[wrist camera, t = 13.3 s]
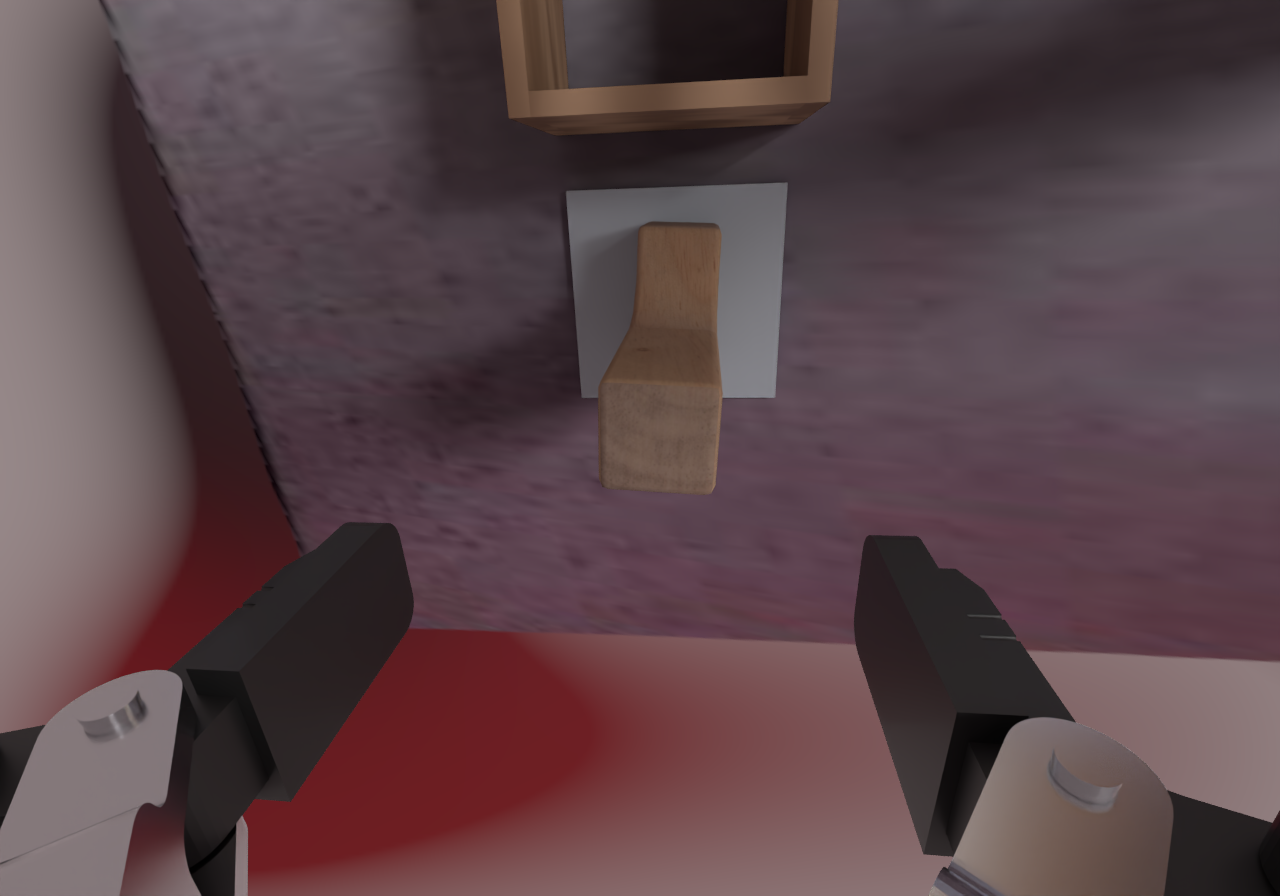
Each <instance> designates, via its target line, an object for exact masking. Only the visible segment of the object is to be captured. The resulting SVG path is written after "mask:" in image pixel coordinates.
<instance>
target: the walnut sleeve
mask: <svg viewBox="0 0 1280 896" xmlns="http://www.w3.org/2000/svg"><path fill="white" fill-rule="evenodd" d="M496 3H497V12H498V22H499V31H500V40H501V50H502V59H503V68H504V78H505V87H506V96H507V106H508V115H509V119H512V120H515V121H517V122H520V123H523V124H525V125H528V126H531V127H533V128H536V129H539V130H541V131H544V132H547V133H549V134H552V135H555V136H557V135H578V134H599V133H619V132H640V131H661V130H681V129H702V128H723V127H744V126H764V125H785V124H799V123H801V122H802V121H804V120H805V119H806V118H808V117H809V116H811V115H812V114H814V113H815V112H816V111H818V110H819V109H821V108H822V107H823V106H825V105H826V104H828V103H829V102H830V97H831V85H832V72H833V60H834V48H835V35H836V23H837V10H838V0H787V18H786V37H785V56H784V75H783V77H772V78H754V79H737V80H719V81H701V82H684V83H666V84H648V85H630V86H613V87H595V88H577V89H569V88H568V74H567V60H566V46H565V32H564V18H563V4H562V0H496Z"/></svg>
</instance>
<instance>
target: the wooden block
mask: <svg viewBox="0 0 1280 896" xmlns="http://www.w3.org/2000/svg"><path fill="white" fill-rule="evenodd" d="M721 239H722V234H721V231H720V228H719V226H718V225H717V224H715V223H695V222H657V221H651V222H648V223H646V224H644V225H642V226H641V227H640V228H639V231H638V246H637V275H636V289H635V298H634V308H633V315H632V319H631V323H630V327H629V330H628V332H627V333H626V335H625V337H624V339H623V341H622V343H621V344H620V346H619V348H618V350H617V352H616V354H615V356H614V357H613V359H612V361H611V363H610V365H609V367H608V368H607V370H606V372H605V374H604V376H603V378H602V379H601V382H600V384H599V386H598V429H599V480H600V482H601V484H602V487H605V488H607V489H620V490H635V491H651V492H667V493H682V494H698V495H706V494H710V493H711V492H712V491H713V489H714V487H715V484H716V471H717V459H718V446H719V434H720V421H721V409H722V396H723V391H722V380H721V370H720V359H719V348H718V338H717V308H718V285H719V269H720V254H721Z"/></svg>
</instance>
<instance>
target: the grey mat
mask: <svg viewBox="0 0 1280 896" xmlns="http://www.w3.org/2000/svg"><path fill="white" fill-rule="evenodd" d="M787 185H788V183H762V184H735V185H709V186H683V187H657V188H631V189H605V190H579V191H566V199H567V212H568V225H569V239H570V252H571V265H572V278H573V291H574V304H575V317H576V330H577V343H578V356H579V369H580V382H581V395H582V398H598V386H599V384H600V382H601V379H602V378H603V376H604V374H605V372H606V370H607V368H608V367H609V365H610V363H611V361H612V359H613V357H614V356H615V354H616V352H617V350H618V348H619V346H620V344H621V343H622V341H623V339H624V337H625V335H626V333H627V332H628V330H629V327H630V323H631V319H632V315H633V308H634V298H635V289H636V275H637V246H638V231H639V228H640V227H641V226H642V225H644V224H646V223H648V222H651V221H657V222H695V223H715V224H717V225H718V226H719V228H720V231H721V234H722V239H721V254H720V269H719V285H718V308H717V338H718V348H719V359H720V370H721V380H722V391H723V396H722V398H775V390H776V373H777V356H778V339H779V322H780V305H781V287H782V270H783V253H784V236H785V219H786V202H787Z"/></svg>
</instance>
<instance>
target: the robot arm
mask: <svg viewBox="0 0 1280 896" xmlns="http://www.w3.org/2000/svg"><path fill="white" fill-rule="evenodd" d="M413 607H414V600H413V593H412V588H411V584H410V580H409V575H408V571H407V567H406V562H405V558H404V554H403V549H402V545H401V541H400V536H399V533H398V531H397V529H396V528H395V526H394V525H392V524H390V523H356V522H349V523H345V524H343V525H342V526H341V527H340V528H338V529H337V530H336V531H335V532H334V533H333V534H332V535H331V536H330V537H329V538H328V539H326V540H325V541H324V542H323V543H322V544H321V545H320V546H319V547H318V548H317V549H316V550H313V551H312V552H310V553H308V554H306V555H304V556H303V557H301V558H299V559H297V560H295V561H294V562H292V563H290V564H288V565H286V566H284V567H283V568H282V569H281V570H280V571H279V572H278V573H277V574H275V575H274V576H273V577H272V578H271V579H270V580H269V581H268V582H267V583H265V584H264V585H263V586H262V590H261V591H256V592H255V593H254V594H253V595H252V596H251V597H250V598H249V599H247V600H246V601H245V602H244V603H243V607H242V608H237V609H236V610H235V611H234V612H233V613H232V614H231V615H230V616H228V617H227V618H226V619H225V620H224V621H223V622H222V623H220V624H219V625H218V626H217V627H216V628H215V629H214V630H213V631H211V632H210V633H209V634H208V635H207V636H206V637H205V638H204V639H202V640H201V641H200V642H199V643H198V644H197V645H196V646H195V647H193V648H192V649H191V650H190V651H189V652H188V653H187V654H186V655H184V656H183V657H182V658H181V659H180V660H179V661H178V662H177V663H175V664H174V665H173V666H172V667H171V668H170V669H169V670H168V671H165V670H151V671H143V672H138V673H133V674H130V675H127V676H123V677H120V678H118V679H115V680H112V681H110V682H107V683H105V684H103V685H101V686H98V687H97V688H95V689H93V690H91V691H89V692H87V693H85V694H84V695H82V696H81V697H79V698H77V699H76V700H74V701H73V702H72V703H70V704H68V705H67V706H66V707H64V708H63V709H62V710H61V711H60V712H59V713H57V714H56V715H55V716H54V717H53V718H52V719H51V720H50V721H49V722H48V723H47V724H46V725H42V726H37V727H33V728H27V729H22V730H17V731H11V732H6V733H1V734H0V896H247V883H248V882H247V880H248V874H247V873H248V872H247V871H248V830H247V825H246V823H245V821H244V819H243V816H242V815H243V814H244V812H245V811H246V810H247V808H248V807H249V806H250V804H251V803H252V801H253V800H254V799H263V800H276V801H290V802H291V800H292V799H293V798H294V796H295V794H296V793H297V792H298V790H299V789H300V787H301V786H302V784H303V783H304V781H305V780H306V778H307V777H308V775H309V774H310V772H311V771H312V770H313V768H314V766H315V765H316V764H317V762H318V761H319V759H320V758H321V756H322V755H323V754H324V752H325V751H326V749H327V748H328V746H329V745H330V743H331V742H332V740H333V739H334V737H335V736H336V734H337V733H338V732H339V730H340V728H341V727H342V726H343V724H344V723H345V721H346V720H347V718H348V717H349V715H350V714H351V712H352V711H353V709H354V708H355V707H356V705H357V704H358V702H359V701H360V699H361V698H362V696H363V695H364V693H365V692H366V690H367V689H368V687H369V686H370V684H371V683H372V682H373V680H374V679H375V677H376V676H377V674H378V673H379V671H380V670H381V668H382V667H383V665H384V664H385V662H386V661H387V660H388V658H389V657H390V655H391V654H392V652H393V650H394V649H395V648H396V646H397V645H398V643H399V642H400V640H401V639H402V638H403V636H404V635H405V633H406V631H407V630H408V628H409V625H410V622H411V619H412V615H413ZM854 632H855V641H856V647H857V651H858V655H859V658H860V661H861V664H862V667H863V670H864V673H865V676H866V679H867V682H868V686H869V689H870V692H871V695H872V698H873V701H874V704H875V707H876V710H877V713H878V716H879V719H880V722H881V725H882V728H883V731H884V734H885V737H886V741H887V744H888V747H889V750H890V753H891V756H892V759H893V762H894V765H895V768H896V771H897V774H898V777H899V780H900V783H901V787H902V790H903V793H904V796H905V799H906V802H907V805H908V808H909V811H910V814H911V817H912V820H913V823H914V826H915V830H916V833H917V835H918V839H919V841H920V845H921V847H922V851H923V854H927V855H940V856H952V857H953V859H952V861H951V864H950V866H949V867H948V869H947V868H945V867H943V868H942V870H941V871H940V873H939V875H938V877H937V878H936V881H935V883H934V885H933V887H932V889H931V891H930V893H929V895H928V896H1280V811H1279V813H1278V814H1277V816H1276V818H1275V820H1274V821H1273V823H1271V822H1267V821H1264V820H1261V819H1257V818H1254V817H1251V816H1248V815H1244V814H1241V813H1237V812H1234V811H1231V810H1228V809H1224V808H1221V807H1218V806H1215V805H1211V804H1208V803H1205V802H1201V801H1198V800H1195V799H1191V798H1188V797H1185V796H1182V795H1179V794H1176V793H1173V792H1171V791H1168V790H1166V788H1165V786H1164V785H1163V783H1162V782H1161V781H1160V779H1159V778H1158V776H1157V775H1156V774H1155V773H1154V772H1153V771H1152V770H1151V769H1150V767H1148V765H1147V764H1146V763H1145V762H1144V761H1142V760H1141V759H1140V758H1139V757H1138V756H1137V755H1135V754H1134V753H1133V752H1132V751H1130V750H1129V749H1127V748H1126V747H1125V746H1123V745H1122V744H1120V743H1118V742H1117V741H1115V740H1114V739H1112V738H1110V737H1109V736H1107V735H1105V734H1103V733H1101V732H1098V731H1096V730H1094V729H1092V728H1089V727H1087V726H1084V725H1082V724H1078V723H1076V722H1075V720H1074V719H1073V717H1072V716H1071V715H1070V713H1069V712H1068V710H1067V709H1066V707H1065V706H1064V704H1063V703H1062V702H1061V700H1060V699H1059V697H1058V696H1057V695H1056V693H1055V692H1054V690H1053V689H1052V687H1051V686H1050V684H1049V683H1048V681H1047V680H1046V678H1045V677H1044V676H1043V674H1042V673H1041V671H1040V670H1039V668H1038V667H1037V665H1036V664H1035V663H1034V661H1033V660H1032V658H1031V657H1030V655H1029V654H1028V653H1027V651H1026V650H1025V648H1024V647H1023V645H1022V644H1021V642H1020V641H1016V635H1015V634H1014V632H1013V631H1012V629H1011V628H1010V627H1009V625H1008V624H1007V622H1006V621H1005V620H1002V619H1001V614H1000V612H999V611H998V609H997V608H996V606H995V605H994V604H993V602H992V601H991V599H990V598H989V596H988V595H987V593H986V592H985V591H984V590H983V589H982V588H981V587H979V586H978V585H977V584H975V583H974V582H973V581H971V580H970V579H969V578H967V577H966V576H964V575H963V574H962V573H960V572H959V571H958V570H956V569H942V568H938V566H937V565H936V563H935V562H934V560H933V558H932V557H931V555H930V553H929V552H928V550H927V548H926V547H925V545H924V544H923V542H922V540H921V539H920V538H919V537H917V536H882V535H869V536H867V538H866V539H865V542H864V546H863V552H862V560H861V568H860V575H859V583H858V590H857V598H856V606H855V614H854Z"/></svg>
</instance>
